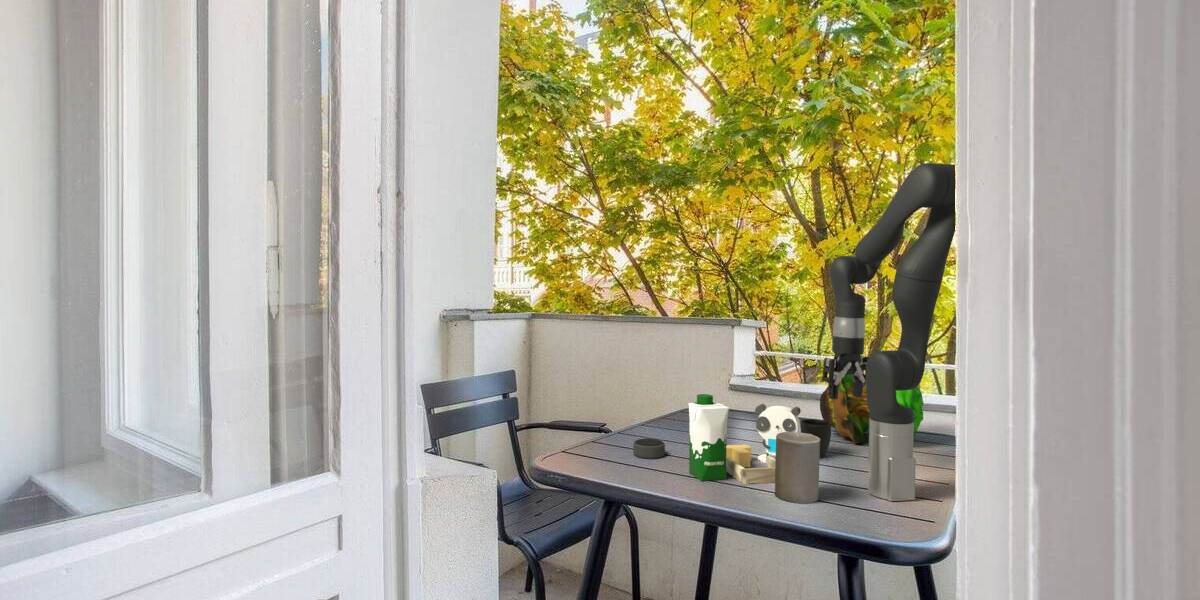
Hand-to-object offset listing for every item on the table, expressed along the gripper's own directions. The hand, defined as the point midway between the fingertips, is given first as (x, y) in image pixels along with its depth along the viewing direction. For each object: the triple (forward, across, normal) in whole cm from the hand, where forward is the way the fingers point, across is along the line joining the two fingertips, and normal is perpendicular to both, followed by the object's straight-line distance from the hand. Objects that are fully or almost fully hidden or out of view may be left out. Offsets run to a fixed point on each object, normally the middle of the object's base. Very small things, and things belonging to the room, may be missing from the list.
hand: (845, 397), depth 155 cm
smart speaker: (+21, -37, +35) cm, 55 cm away
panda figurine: (+20, -7, +16) cm, 27 cm away
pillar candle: (+19, -24, -9) cm, 32 cm away
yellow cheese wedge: (+20, -19, +18) cm, 33 cm away
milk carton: (+20, -33, +12) cm, 41 cm away
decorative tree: (+21, +35, +21) cm, 46 cm away
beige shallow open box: (+20, -22, +7) cm, 30 cm away
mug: (+21, +7, +17) cm, 27 cm away
